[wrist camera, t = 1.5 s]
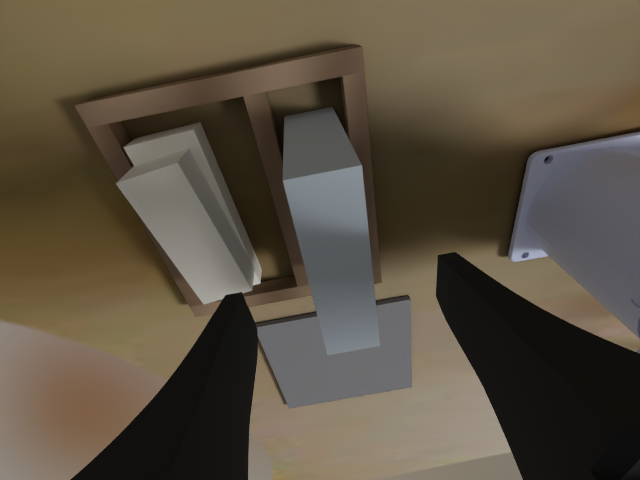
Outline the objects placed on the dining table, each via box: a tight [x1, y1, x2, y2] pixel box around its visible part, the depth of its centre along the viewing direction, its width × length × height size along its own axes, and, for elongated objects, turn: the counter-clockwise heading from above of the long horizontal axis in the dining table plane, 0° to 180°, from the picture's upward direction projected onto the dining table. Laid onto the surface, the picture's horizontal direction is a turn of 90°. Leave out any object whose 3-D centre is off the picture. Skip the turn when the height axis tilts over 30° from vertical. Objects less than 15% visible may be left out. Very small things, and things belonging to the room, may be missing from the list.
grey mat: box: [256, 296, 412, 408], centre depth 28 cm, size 12×12×1 cm
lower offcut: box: [123, 122, 262, 285], centre depth 19 cm, size 4×10×2 cm, turn 12°
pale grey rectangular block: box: [283, 107, 380, 355], centre depth 16 cm, size 2×9×8 cm, turn 10°
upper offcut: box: [116, 148, 255, 304], centre depth 17 cm, size 3×8×2 cm, turn 17°
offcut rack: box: [74, 45, 382, 317], centre depth 19 cm, size 13×14×1 cm
